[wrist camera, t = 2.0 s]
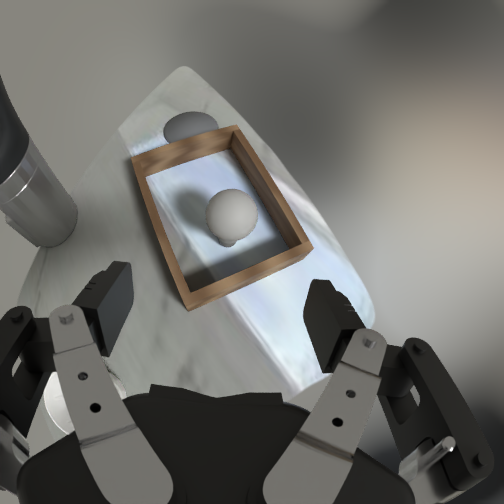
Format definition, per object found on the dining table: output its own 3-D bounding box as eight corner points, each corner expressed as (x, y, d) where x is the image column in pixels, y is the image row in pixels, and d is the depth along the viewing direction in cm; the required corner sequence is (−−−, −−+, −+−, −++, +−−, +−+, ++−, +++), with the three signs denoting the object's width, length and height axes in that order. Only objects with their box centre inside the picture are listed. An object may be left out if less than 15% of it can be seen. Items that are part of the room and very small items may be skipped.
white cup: (104, 354, 31) (71, 353, 22) (142, 399, 30) (119, 415, 20) (71, 386, 28) (32, 392, 19) (106, 430, 27) (76, 450, 18)
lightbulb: (238, 268, 38) (248, 236, 28) (198, 250, 38) (195, 212, 28) (254, 232, 40) (270, 191, 30) (217, 215, 40) (220, 171, 30)
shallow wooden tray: (188, 311, 35) (185, 306, 31) (136, 174, 41) (130, 157, 37) (303, 259, 40) (313, 248, 36) (234, 142, 46) (236, 124, 42)
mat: (173, 156, 43) (173, 154, 43) (158, 121, 46) (158, 120, 45) (226, 139, 46) (226, 138, 46) (206, 108, 49) (206, 106, 48)
